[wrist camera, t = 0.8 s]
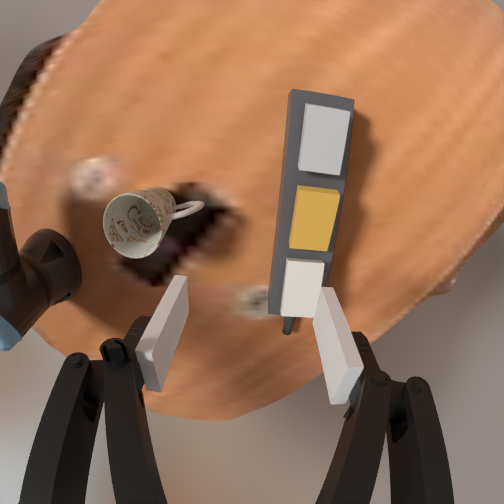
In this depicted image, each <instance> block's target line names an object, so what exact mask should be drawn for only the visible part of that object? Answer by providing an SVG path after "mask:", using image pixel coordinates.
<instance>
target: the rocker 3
mask: <svg viewBox="0 0 504 504" xmlns="http://www.w3.org/2000/svg"><path fill="white" fill-rule="evenodd" d="M324 265H325V263H324V262H323V261H322V260H310V259H297V258H287V259H286V267H285V276H284V284H283V293H282V301H281V309H280V313H281V316H289V317H309V318H314V315H315V311H316V307H317V302H318V298H319V294H320V289H321V284H322V278H323V272H324Z"/></svg>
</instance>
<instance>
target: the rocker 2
mask: <svg viewBox="0 0 504 504" xmlns="http://www.w3.org/2000/svg"><path fill="white" fill-rule="evenodd" d="M339 199H340V194H339V192H338V190H333V189H326V188H318V187H309V186H301V185H297V192H296V199H295V205H294V212H293V218H292V225H291V231H290V237H289V247H290V248H293V249H305V250H317V251H327V250H328V246H329V242H330V238H331V234H332V230H333V226H334V221H335V217H336V213H337V208H338V204H339Z"/></svg>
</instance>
